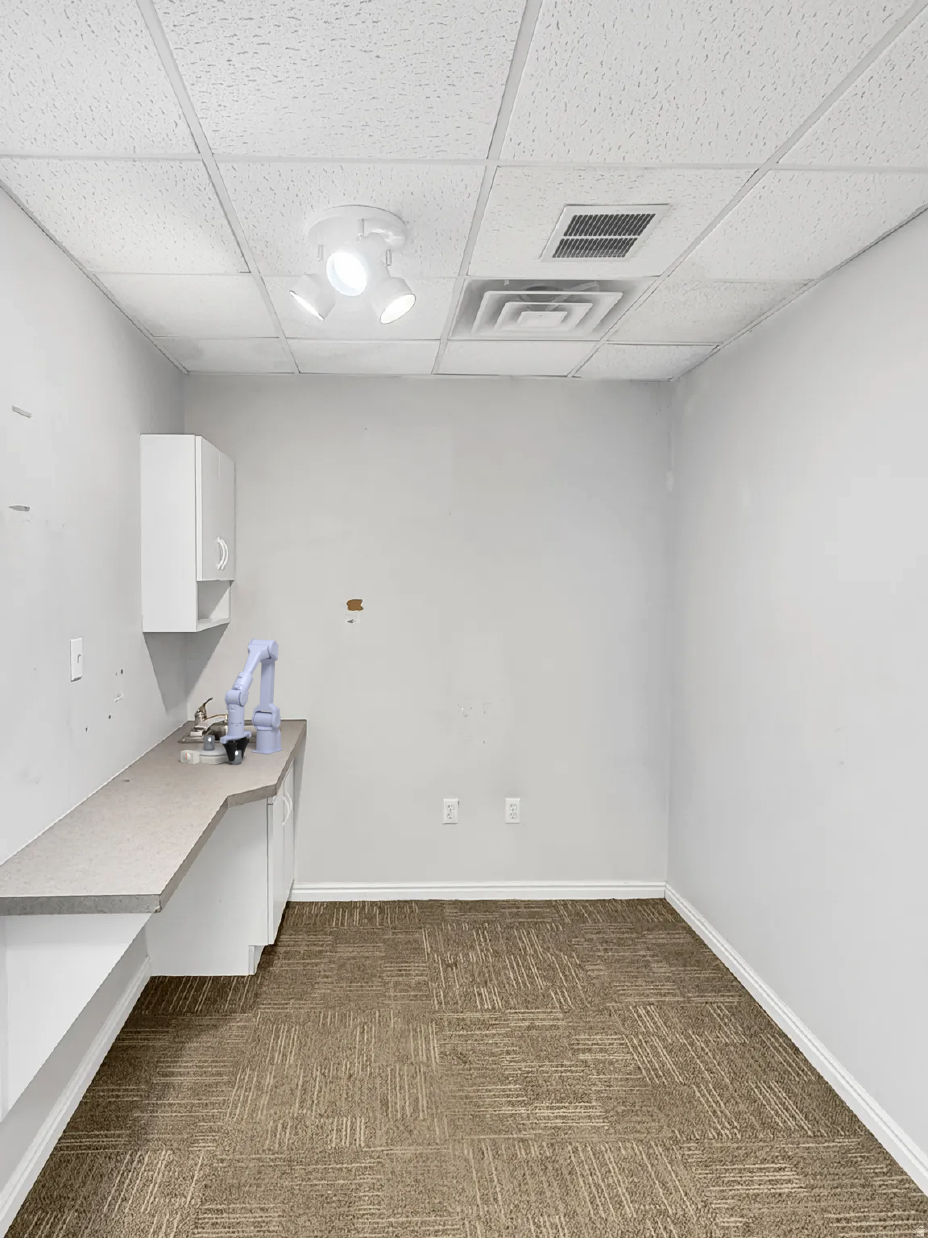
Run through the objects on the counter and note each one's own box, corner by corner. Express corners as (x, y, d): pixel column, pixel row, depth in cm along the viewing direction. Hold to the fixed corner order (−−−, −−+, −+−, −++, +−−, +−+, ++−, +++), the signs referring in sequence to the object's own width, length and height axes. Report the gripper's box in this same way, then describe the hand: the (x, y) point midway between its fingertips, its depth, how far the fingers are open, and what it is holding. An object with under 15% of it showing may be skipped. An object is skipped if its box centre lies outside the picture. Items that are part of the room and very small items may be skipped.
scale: (212, 751, 322) (212, 741, 322) (244, 756, 315) (245, 745, 315) (173, 761, 304) (173, 750, 304) (207, 766, 297) (207, 755, 297)
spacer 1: (208, 748, 315) (208, 735, 314) (216, 749, 313) (217, 736, 313) (201, 750, 311) (201, 736, 311) (210, 751, 309) (210, 737, 309)
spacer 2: (235, 762, 306) (235, 748, 305) (243, 763, 304) (243, 749, 304) (227, 764, 302) (227, 750, 302) (236, 765, 300) (236, 751, 300)
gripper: (240, 718, 310) (240, 754, 311) (213, 724, 297) (213, 762, 298) (256, 720, 307) (255, 757, 308) (229, 726, 294) (228, 764, 295)
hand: (235, 759), depth 303 cm, fingers open, 4 cm apart
